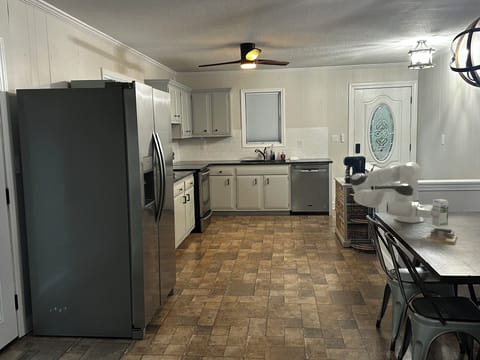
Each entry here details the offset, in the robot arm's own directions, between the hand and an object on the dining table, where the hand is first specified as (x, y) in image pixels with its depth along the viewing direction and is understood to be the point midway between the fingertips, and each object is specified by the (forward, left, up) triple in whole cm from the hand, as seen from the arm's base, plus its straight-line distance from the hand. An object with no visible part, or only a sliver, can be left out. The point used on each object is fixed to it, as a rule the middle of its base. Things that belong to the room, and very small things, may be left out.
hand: (441, 211), depth 234 cm
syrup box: (0, -1, -8) cm, 8 cm away
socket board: (+3, +1, -15) cm, 15 cm away
